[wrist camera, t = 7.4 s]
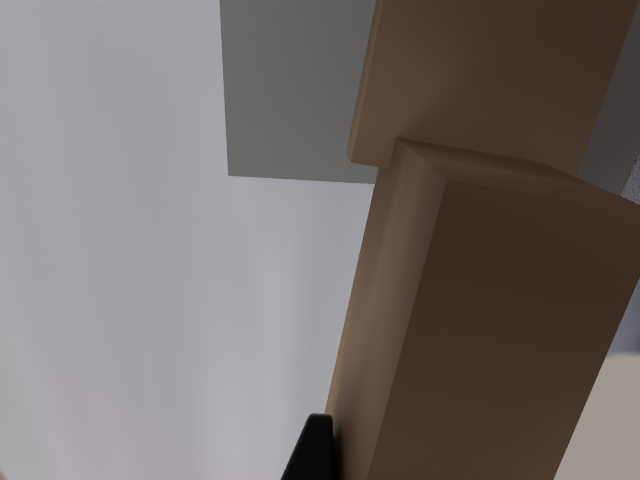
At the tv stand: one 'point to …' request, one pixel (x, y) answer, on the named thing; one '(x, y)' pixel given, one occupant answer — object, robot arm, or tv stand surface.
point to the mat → (342, 89)
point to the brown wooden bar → (480, 240)
